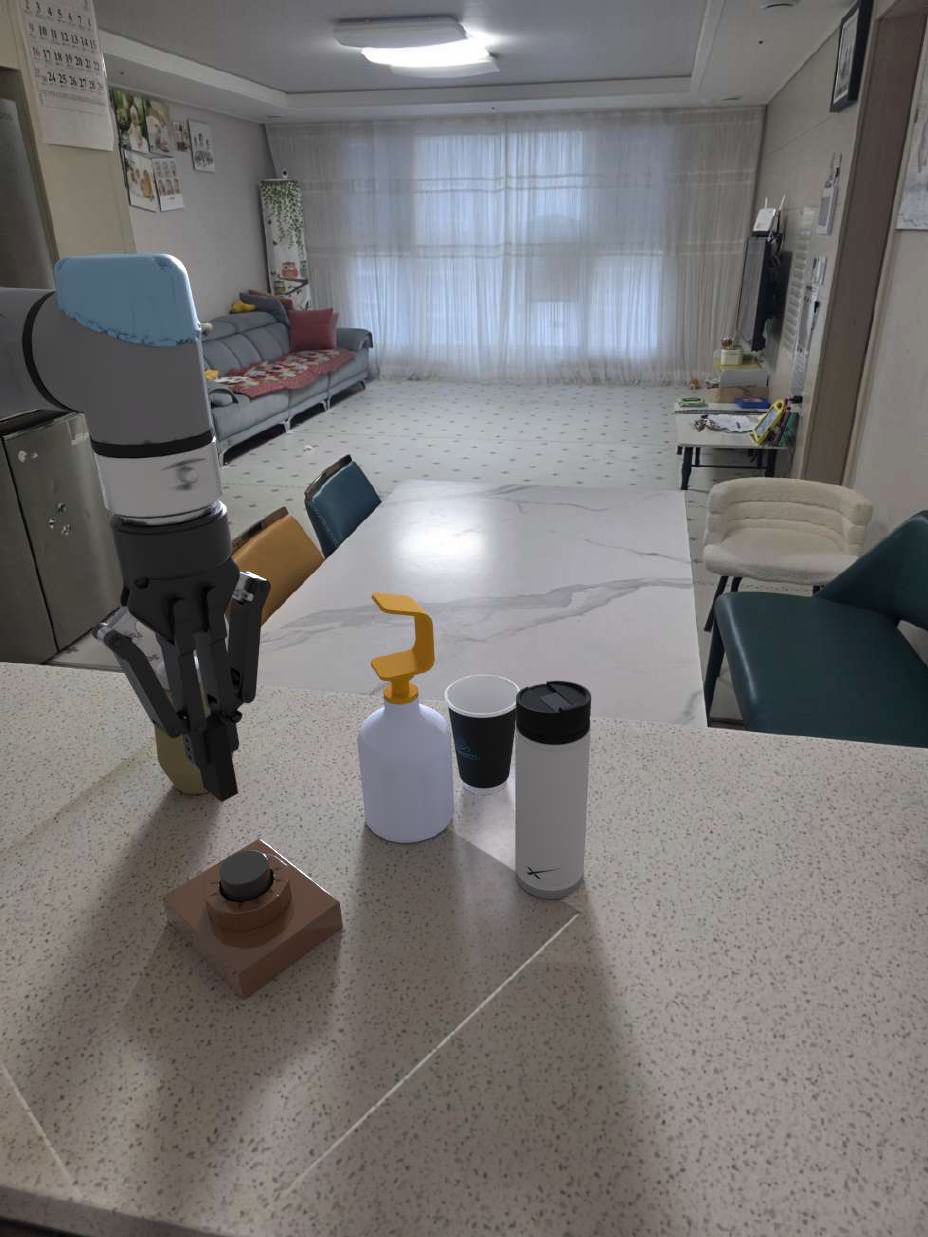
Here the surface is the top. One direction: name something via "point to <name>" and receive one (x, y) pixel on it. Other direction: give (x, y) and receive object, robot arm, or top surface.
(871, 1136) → the top surface
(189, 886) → the button base
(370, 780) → the soap bottle
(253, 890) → the grey button cap
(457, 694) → the dixie cup
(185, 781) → the squeeze bottle
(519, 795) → the travel mug
